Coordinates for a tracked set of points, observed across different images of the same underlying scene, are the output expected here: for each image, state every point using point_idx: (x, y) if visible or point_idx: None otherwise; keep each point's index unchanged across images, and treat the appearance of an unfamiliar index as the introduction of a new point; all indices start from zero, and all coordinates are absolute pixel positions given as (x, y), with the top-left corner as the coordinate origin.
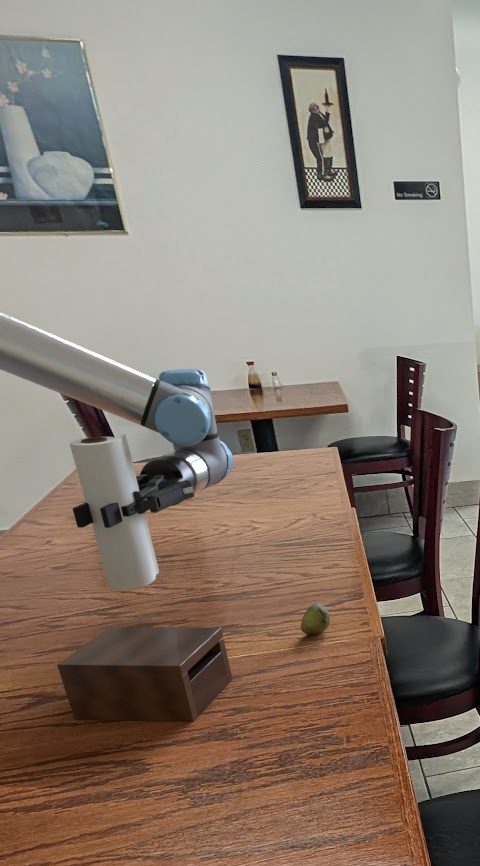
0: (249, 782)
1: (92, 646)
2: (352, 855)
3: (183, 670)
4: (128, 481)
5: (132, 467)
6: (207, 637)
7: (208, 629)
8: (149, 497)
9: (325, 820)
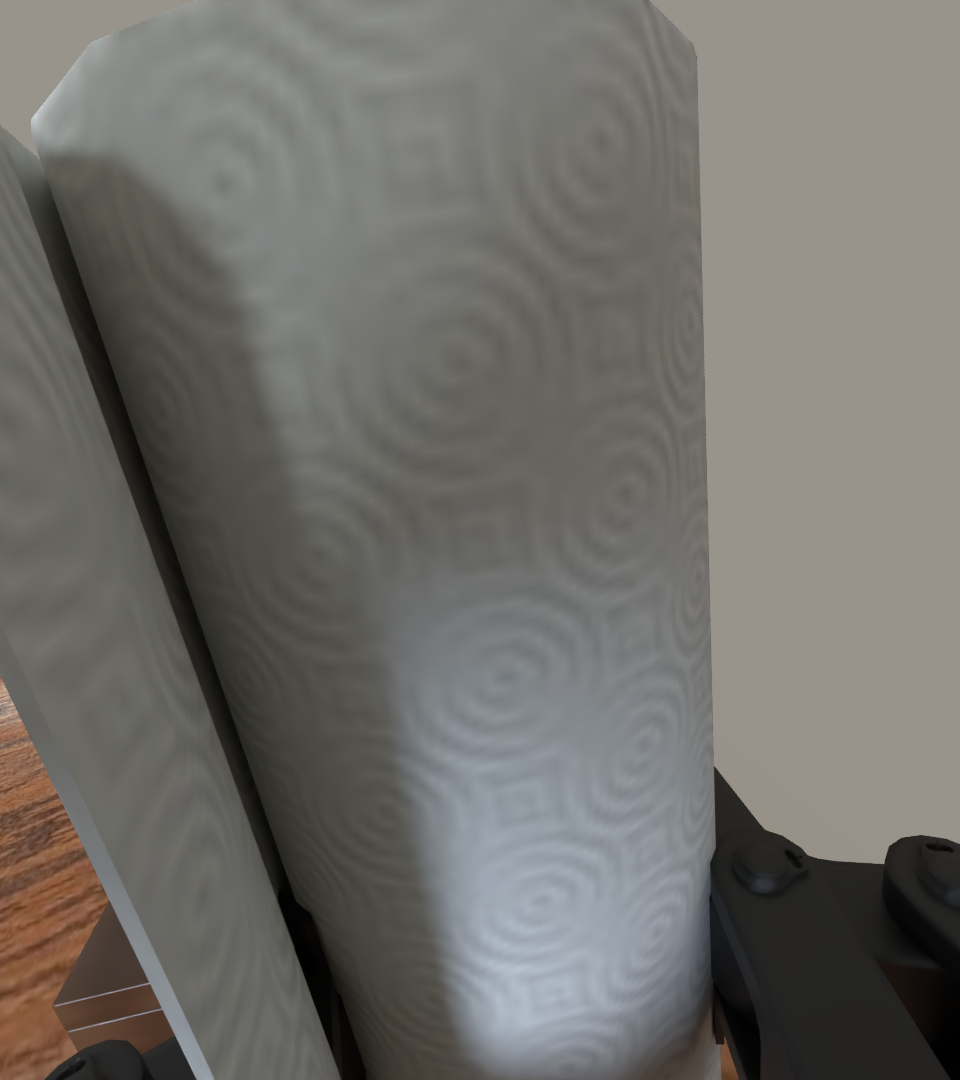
0: None
1: None
2: (8, 732)
3: None
4: (237, 741)
5: (195, 962)
6: (105, 922)
7: (100, 977)
8: (107, 1055)
9: (19, 758)
